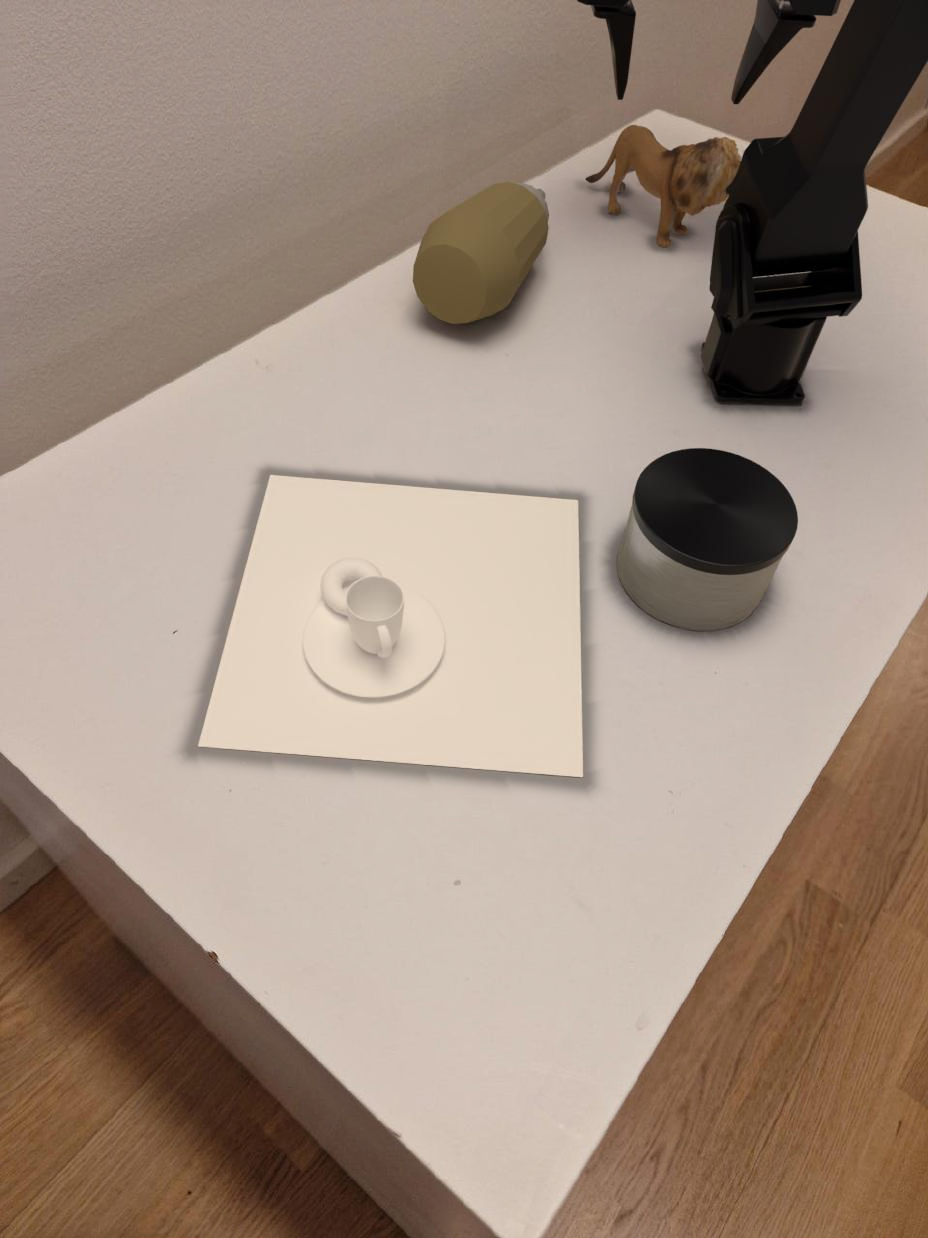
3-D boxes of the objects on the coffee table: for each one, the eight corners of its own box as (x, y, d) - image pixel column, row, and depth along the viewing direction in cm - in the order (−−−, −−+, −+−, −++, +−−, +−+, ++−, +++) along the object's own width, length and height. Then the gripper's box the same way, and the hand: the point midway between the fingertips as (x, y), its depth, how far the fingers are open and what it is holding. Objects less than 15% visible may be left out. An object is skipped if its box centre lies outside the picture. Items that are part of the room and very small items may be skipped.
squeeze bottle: (481, 358, 69) (564, 260, 81) (514, 263, 63) (599, 171, 74) (387, 307, 70) (483, 217, 81) (411, 208, 63) (511, 125, 75)
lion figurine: (732, 245, 80) (765, 139, 72) (694, 268, 77) (724, 160, 70) (602, 176, 85) (621, 71, 78) (564, 195, 83) (579, 89, 76)
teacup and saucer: (317, 571, 55) (312, 525, 52) (450, 582, 55) (453, 536, 52) (292, 696, 50) (284, 652, 47) (439, 708, 50) (442, 665, 47)
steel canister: (747, 518, 60) (776, 448, 55) (780, 633, 55) (817, 567, 50) (606, 516, 59) (624, 445, 55) (626, 632, 54) (648, 565, 49)
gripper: (838, -179, 66) (768, 59, 78) (578, -195, 65) (549, 50, 77) (887, -129, 59) (802, 122, 72) (598, -146, 58) (563, 113, 70)
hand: (677, 99), depth 73 cm, fingers open, 9 cm apart
